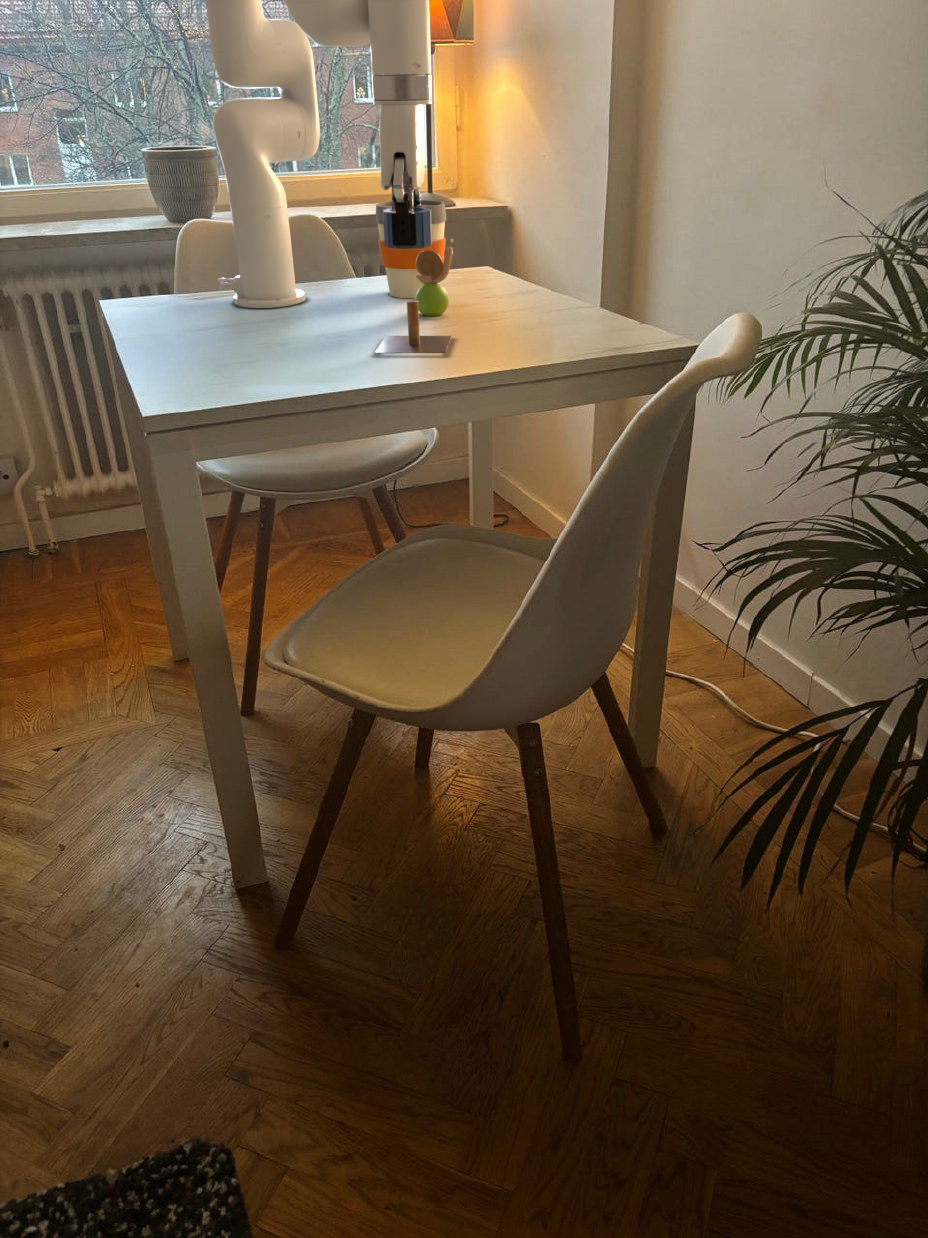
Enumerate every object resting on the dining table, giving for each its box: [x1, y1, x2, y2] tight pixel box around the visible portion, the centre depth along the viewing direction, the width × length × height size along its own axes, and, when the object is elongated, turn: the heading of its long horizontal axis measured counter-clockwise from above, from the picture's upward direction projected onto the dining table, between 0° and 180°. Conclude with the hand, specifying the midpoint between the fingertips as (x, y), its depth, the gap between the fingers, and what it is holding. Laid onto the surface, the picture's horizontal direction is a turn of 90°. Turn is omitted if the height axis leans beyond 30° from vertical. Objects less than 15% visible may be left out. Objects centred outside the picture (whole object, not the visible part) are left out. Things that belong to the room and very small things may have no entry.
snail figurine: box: [414, 238, 454, 317], centre depth 150 cm, size 5×6×12 cm
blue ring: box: [383, 207, 432, 249], centre depth 128 cm, size 6×6×4 cm
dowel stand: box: [374, 299, 453, 354], centre depth 134 cm, size 10×10×7 cm
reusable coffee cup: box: [375, 199, 448, 299], centre depth 167 cm, size 12×13×15 cm
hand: (408, 239), depth 128 cm, fingers closed on blue ring, 6 cm apart
